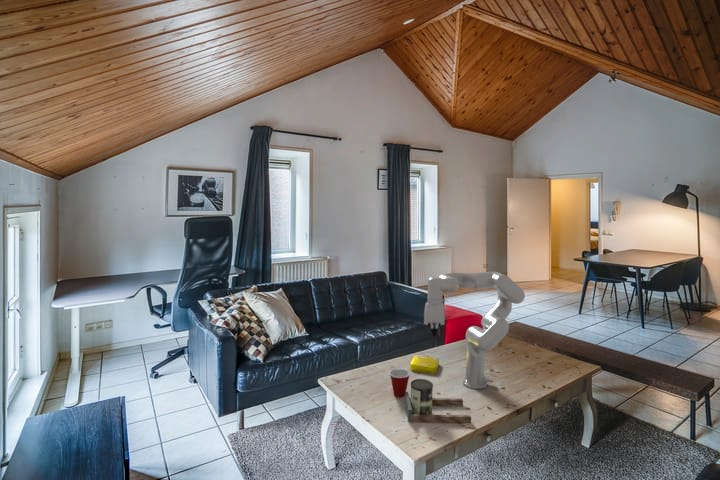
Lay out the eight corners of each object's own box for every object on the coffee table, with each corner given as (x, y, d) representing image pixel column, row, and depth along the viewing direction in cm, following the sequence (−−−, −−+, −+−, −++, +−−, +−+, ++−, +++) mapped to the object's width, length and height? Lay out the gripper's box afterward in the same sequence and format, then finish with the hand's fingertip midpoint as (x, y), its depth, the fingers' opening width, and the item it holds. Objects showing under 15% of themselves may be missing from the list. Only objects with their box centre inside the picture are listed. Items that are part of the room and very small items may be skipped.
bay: (462, 404, 188) (462, 392, 187) (471, 423, 172) (471, 410, 171) (404, 403, 188) (405, 391, 188) (408, 422, 173) (408, 409, 172)
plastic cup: (401, 387, 204) (401, 365, 203) (414, 396, 195) (414, 374, 194) (384, 392, 199) (384, 370, 197) (396, 402, 190) (397, 379, 188)
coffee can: (433, 408, 184) (434, 380, 182) (430, 420, 174) (431, 390, 173) (412, 404, 187) (413, 377, 186) (407, 416, 178) (408, 387, 176)
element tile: (409, 370, 225) (409, 363, 225) (415, 360, 239) (415, 353, 239) (435, 375, 220) (435, 367, 219) (439, 364, 234) (439, 357, 233)
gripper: (447, 299, 202) (446, 333, 204) (419, 298, 202) (418, 332, 204) (450, 303, 195) (449, 338, 197) (421, 302, 195) (420, 337, 197)
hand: (433, 335), depth 200 cm, fingers closed
